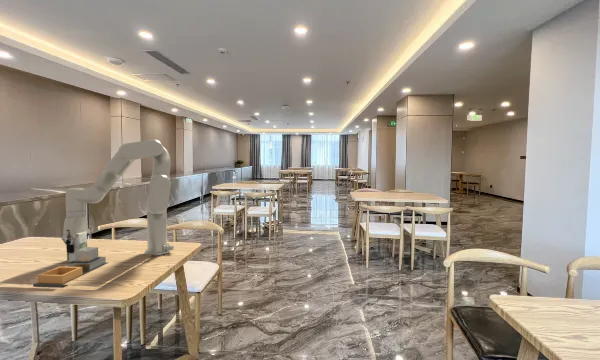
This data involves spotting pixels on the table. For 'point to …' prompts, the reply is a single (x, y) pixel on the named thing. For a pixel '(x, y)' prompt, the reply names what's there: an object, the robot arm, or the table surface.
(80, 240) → the syrup box
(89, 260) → the block
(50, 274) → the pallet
